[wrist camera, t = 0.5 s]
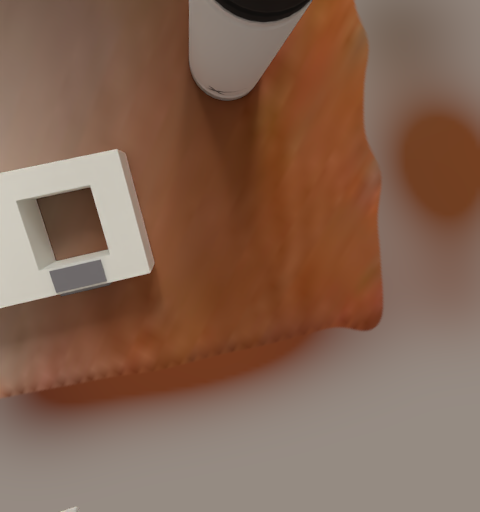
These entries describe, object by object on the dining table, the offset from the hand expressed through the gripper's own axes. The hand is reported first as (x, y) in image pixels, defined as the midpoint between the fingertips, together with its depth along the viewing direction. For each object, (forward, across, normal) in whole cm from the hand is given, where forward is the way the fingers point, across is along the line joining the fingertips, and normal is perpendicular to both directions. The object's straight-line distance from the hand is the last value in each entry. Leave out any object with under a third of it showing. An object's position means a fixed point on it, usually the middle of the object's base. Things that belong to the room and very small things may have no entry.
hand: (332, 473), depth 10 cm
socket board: (+27, -18, +7) cm, 33 cm away
